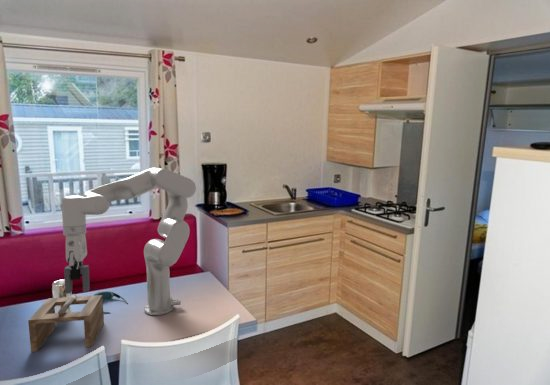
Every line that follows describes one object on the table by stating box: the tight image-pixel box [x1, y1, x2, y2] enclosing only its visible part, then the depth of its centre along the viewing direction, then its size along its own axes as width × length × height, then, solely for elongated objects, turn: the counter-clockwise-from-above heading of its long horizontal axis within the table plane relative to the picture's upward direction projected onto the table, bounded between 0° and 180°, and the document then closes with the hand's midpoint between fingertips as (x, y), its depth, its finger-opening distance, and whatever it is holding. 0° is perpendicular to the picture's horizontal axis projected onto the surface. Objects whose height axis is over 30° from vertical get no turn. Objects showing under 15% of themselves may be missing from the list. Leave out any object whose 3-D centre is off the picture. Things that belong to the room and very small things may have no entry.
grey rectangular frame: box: [63, 264, 91, 293], centre depth 142 cm, size 8×3×9 cm, turn 102°
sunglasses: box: [91, 290, 129, 315], centre depth 171 cm, size 14×15×5 cm
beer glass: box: [51, 278, 73, 313], centre depth 160 cm, size 7×7×15 cm
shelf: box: [27, 293, 105, 353], centre depth 144 cm, size 20×18×14 cm
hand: (77, 277), depth 142 cm, fingers closed on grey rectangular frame, 3 cm apart
